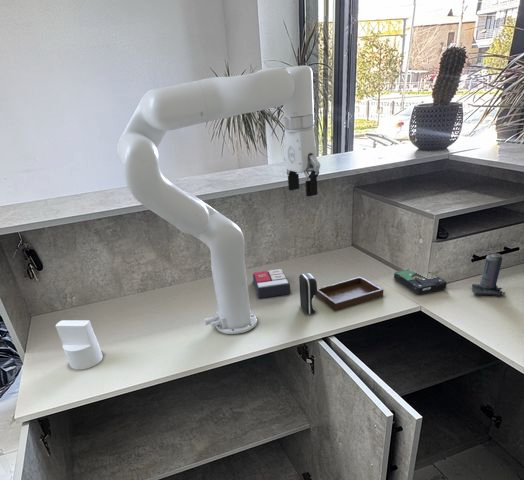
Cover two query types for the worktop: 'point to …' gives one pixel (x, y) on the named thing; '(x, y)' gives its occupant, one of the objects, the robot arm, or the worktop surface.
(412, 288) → the disk drive
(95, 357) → the cylinder with rectangular tab
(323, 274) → the worktop surface
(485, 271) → the grey cylinder on base
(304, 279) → the battery charger
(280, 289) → the calculator
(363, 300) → the tray
